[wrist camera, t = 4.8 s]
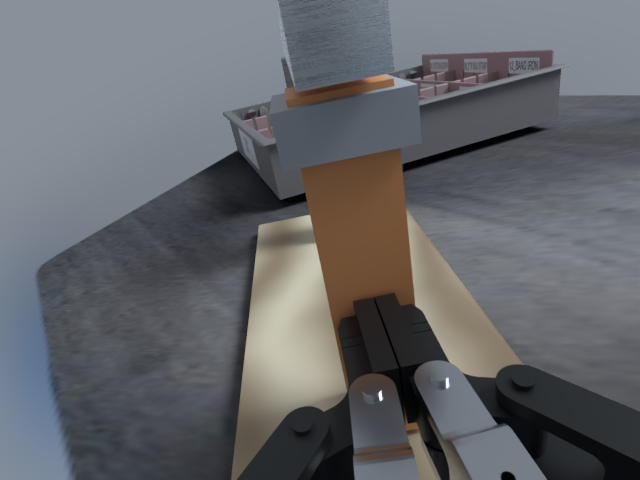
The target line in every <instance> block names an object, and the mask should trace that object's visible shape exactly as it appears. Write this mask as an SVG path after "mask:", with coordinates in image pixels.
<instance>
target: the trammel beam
mask: <svg viewBox="0 0 640 480" xmlns="http://www.w3.org/2000/svg"><path fill="white" fill-rule="evenodd" d="M278 16H279V31H280V36H281V41H282V45H283V50H284V55H285V57H281V61H282V65H283V70H284V75H285V80H286V84H287V88H291V87H295V90H296V92H301V91H306V90H311V89H316V88H321V87H326V86H331V85H336V84H340V83H345V82H350V81H355V80H360V79H365V78H370V77H375V76H380V75H385V74H390V73H394V63H393V51H392V41H391V30H390V20H389V9H388V0H278Z"/></svg>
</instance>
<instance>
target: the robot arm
mask: <svg viewBox="0 0 640 480" xmlns="http://www.w3.org/2000/svg"><path fill="white" fill-rule="evenodd" d="M353 308H354V313H355V315H354V316H349V317H345V318H341V320H340V323H339V326H338V328H337V329H338V334H339V339H340V344H341V349H342V354H343V359H344V364H345V368H346V373H347V378H348V391H347V393H346V395H345V397H344V398H343V399H342V400H341V402H339V403H338V404H337V405H335V406H334V407H332V408H330V409H328V410H326V411H324V412H323V411H322V410H321V409H319V408H316V407H312V406H305V407H300V408H297V409H295V410H293V411H291V412H290V413H289V414H288V415H286V417H285V418H284V419H283V420H282V422H281V423H280V424H279V425H278V427H277V428H276V429H275V431H274V432H273V433H272V434H271V436H270V437H269V438H268V440H267V441H266V442H265V444H264V445H263V446H262V447H261V449H260V450H259V451H258V453H257V454H256V455H255V456H254V458H253V459H252V460H251V462H250V463H249V464H248V466H247V467H246V468H245V469H244V471H243V472H242V473H241V475H240V476H239V477H238V478H237V480H420V477H419V473H418V469H417V465H416V461H415V457H414V453H413V449H412V447H410V443H409V439H408V435H407V431H406V426H405V425H406V421H405V416H406V419H407V422H408V424H410V423H415V422H416V423H417V425H418V428H419V431H420V437H421V445H422V448H423V450H424V452H425V454H426V457H427V459H428V461H429V463H430V466H431V468H432V470H433V472H434V475H435V477H436V479H437V480H640V412H639V411H637V410H634V409H632V408H629V407H627V406H625V405H622V404H620V403H617V402H615V401H613V400H610V399H608V398H606V397H603V396H601V395H598V394H596V393H594V392H591V391H589V390H586V389H584V388H582V387H579V386H577V385H575V384H572V383H570V382H567V381H565V380H563V379H560V378H558V377H555V376H553V375H551V374H548V373H546V372H543V371H541V370H539V369H536V368H534V367H531V366H527V365H522V364H514V365H508V366H506V367H503V368H502V369H500V370H499V371H498V373H497V375H496V378H491V377H476V376H471V375H467V374H464V373H462V372H461V370H460V369H459V368H458V367H457V366H455V365H453V364H451V363H450V362H449V360H448V358H447V356H446V355H445V353H444V351H443V349H442V347H441V345H440V343H439V341H438V340H437V338H436V336H435V334H434V332H433V331H432V328H431V326H430V324H429V323H428V321H427V319H426V317H425V315H424V313H423V311H422V310H420V309H419V308H417V307H416V306H415V305H413V304H407V305H403V306H400V304H399V302H398V300H397V297H396V295H395V293H390V294H385V295H380V296H375V297H374V299H373V297H371V298H366V299H361V300H356V301H353ZM404 413H405V414H404Z"/></svg>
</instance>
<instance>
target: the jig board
mask: <svg viewBox="0 0 640 480" xmlns="http://www.w3.org/2000/svg"><path fill="white" fill-rule="evenodd" d="M406 212H407V223H408V233H409V244H410V254H411V265H412V275H413V286H414V296H415V306H416V307H417V308H419V309H420V310H422V311H423V313H424V315H425V317H426V319H427V321H428V323H429V324H430V326H431V328H432V331H433V332H434V334H435V336H436V338H437V340H438V341H439V343H440V345H441V347H442V349H443V351H444V353H445V355H446V356H447V358H448V360H449V362H450V363H451V364H453V365H455V366H457V367H458V368H459V369H460V370H461V372H462V373H464V374H467V375H471V376H476V377H491V378H496V375H497V373H498V371H499V370H500V369H502V368H503V367H506V366H508V365H514V364H522V362H521V361H520V360H519V358H518V357H517V356H516V354H515V353H514V352H513V350H512V349H511V348H510V346H509V345H508V344H507V342H506V341H505V340H504V338H503V337H502V336H501V334H500V333H499V332H498V330H497V329H496V328H495V326H494V325H493V324H492V322H491V321H490V320H489V318H488V317H487V316H486V314H485V313H484V312H483V310H482V309H481V308H480V306H479V305H478V304H477V302H476V301H475V300H474V298H473V297H472V296H471V294H470V293H469V292H468V291H467V289H466V288H465V287H464V285H463V284H462V283H461V281H460V280H459V279H458V277H457V276H456V275H455V273H454V272H453V271H452V269H451V268H450V267H449V265H448V264H447V263H446V261H445V260H444V259H443V257H442V256H441V255H440V253H439V252H438V251H437V249H436V248H435V247H434V245H433V244H432V243H431V241H430V240H429V239H428V237H427V236H426V235H425V233H424V232H423V231H422V229H421V228H420V227H419V225H418V224H417V223H416V221H415V220H414V219H413V217H412V216H411V215H410V213H409V212H408V211H407V209H406ZM522 365H523V364H522ZM346 393H347V389H346V384H345V379H344V374H343V370H342V365H341V360H340V355H339V351H338V346H337V341H336V336H335V331H334V327H333V322H332V317H331V312H330V308H329V303H328V298H327V293H326V289H325V284H324V279H323V274H322V269H321V265H320V260H319V255H318V250H317V246H316V241H315V236H314V231H313V227H312V222H311V217H310V215H307V216H302V217H297V218H292V219H287V220H282V221H277V222H272V223H268V224H263V225H259V231H258V240H257V249H256V258H255V267H254V276H253V285H252V294H251V303H250V312H249V322H248V331H247V340H246V349H245V358H244V367H243V376H242V385H241V394H240V403H239V412H238V421H237V430H236V439H235V448H234V457H233V466H232V475H231V480H237V478H238V477H239V476H240V475H241V473H242V472H243V471H244V469H245V468H246V467H247V466H248V464H249V463H250V462H251V460H252V459H253V458H254V456H255V455H256V454H257V453H258V451H259V450H260V449H261V447H262V446H263V445H264V444H265V442H266V441H267V440H268V438H269V437H270V436H271V434H272V433H273V432H274V431H275V429H276V428H277V427H278V425H279V424H280V423H281V422H282V420H283V419H284V418H285V417H286V415H288V414H289V413H290V412H291V411H293V410H295V409H297V408H300V407H305V406H312V407H316V408H319V409H321V410H322V411H323V412H324V411H326V410H328V409H330V408H332V407H334V406H335V405H337V404H338V403H339V402H341V400H342V399H343V398H344V397H345V395H346ZM407 435H408V439H409V443H410V447H412V449H413V453H414V457H415V461H416V465H417V469H418V473H419V477H420V480H437V479H436V477H435V475H434V472H433V470H432V468H431V466H430V463H429V461H428V459H427V457H426V454H425V452H424V450H423V448H422V445H421V437H420V431H419V428H418V429H413V430H408V431H407Z"/></svg>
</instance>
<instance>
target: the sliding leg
mask: <svg viewBox="0 0 640 480" xmlns="http://www.w3.org/2000/svg"><path fill="white" fill-rule="evenodd" d="M269 115H270V119H271V124H272V128H273V132H274V137H275V141H276V145H277V150H278V154H279V158H280V163H281V167H282V171H283V172H285V171H290V170H295V169H301V174H302V179H303V184H304V188H305V193H306V198H307V203H308V208H309V212H310V217H311V222H312V227H313V231H314V236H315V241H316V246H317V250H318V255H319V260H320V265H321V269H322V274H323V279H324V284H325V289H326V293H327V298H328V303H329V308H330V312H331V317H332V322H333V327H334V331H335V336H336V341H337V346H338V351H339V355H340V360H341V365H342V370H343V374H344V379H345V384H346V389H347V391H348V378H347V373H346V368H345V364H344V359H343V354H342V349H341V344H340V339H339V334H338V329H337V328H338V326H339V323H340V320H341V318H345V317H349V316H354V315H355V313H354V308H353V301H356V300H361V299H366V298H371V297H373V299H374V297H375V296H380V295H385V294H390V293H395V295H396V297H397V300H398V302H399V304H400V306H403V305H407V304H413V305H415V296H414V286H413V275H412V265H411V254H410V244H409V233H408V223H407V212H406V202H405V192H404V181H403V171H402V160H401V150H400V148H403V147H407V146H412V145H417V144H422V138H421V124H420V110H419V96H418V84H416V83H413V82H410V81H406V80H403V79H400V78H397V77H394V76H391V75H387V74H385V75H380V76H375V77H370V78H365V79H360V80H355V81H350V82H345V83H340V84H336V85H331V86H326V87H321V88H316V89H311V90H306V91H301V92H296V90H295V87H291V88H286V89H285V93H284V94H279V95H275V96H272V99H271V106H270V113H269ZM404 414H405V413H404ZM405 421H406V425H405V426H406V431H408V430H413V429H418V425H417V423H416V422H415V423H410V424H408V422H407V419H406V416H405Z"/></svg>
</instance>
